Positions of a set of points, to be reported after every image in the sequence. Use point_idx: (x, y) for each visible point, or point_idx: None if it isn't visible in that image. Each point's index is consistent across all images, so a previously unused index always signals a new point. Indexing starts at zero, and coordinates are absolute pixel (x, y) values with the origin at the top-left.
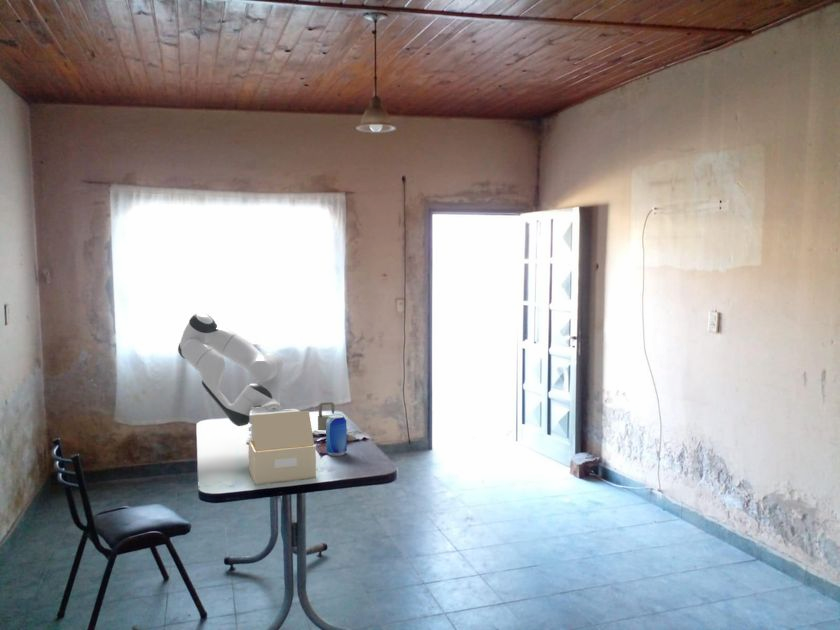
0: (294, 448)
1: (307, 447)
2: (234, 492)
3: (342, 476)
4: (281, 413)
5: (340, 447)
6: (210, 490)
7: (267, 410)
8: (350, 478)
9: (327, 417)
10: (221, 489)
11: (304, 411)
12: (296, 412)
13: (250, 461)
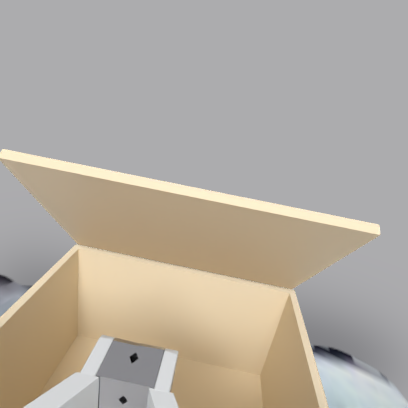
0: (151, 260)
1: (104, 251)
2: (318, 351)
3: (4, 307)
4: (183, 188)
5: None
6: (399, 405)
7: None
8: (7, 286)
9: None
10: (365, 395)
11: (33, 157)
12: (87, 169)
13: None
